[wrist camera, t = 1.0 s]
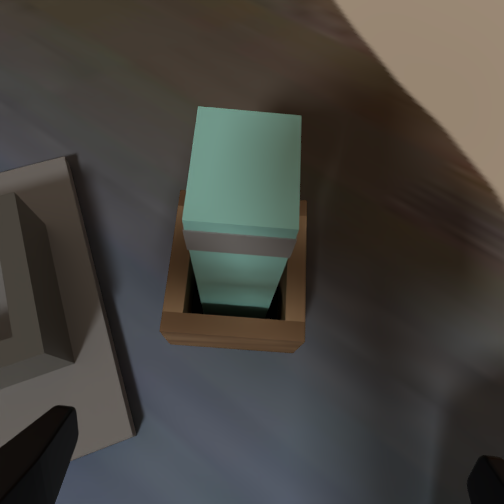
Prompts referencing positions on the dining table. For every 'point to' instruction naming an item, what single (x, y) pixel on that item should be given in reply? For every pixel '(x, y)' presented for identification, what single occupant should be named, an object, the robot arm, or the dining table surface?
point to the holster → (228, 327)
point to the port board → (54, 313)
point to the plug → (242, 207)
